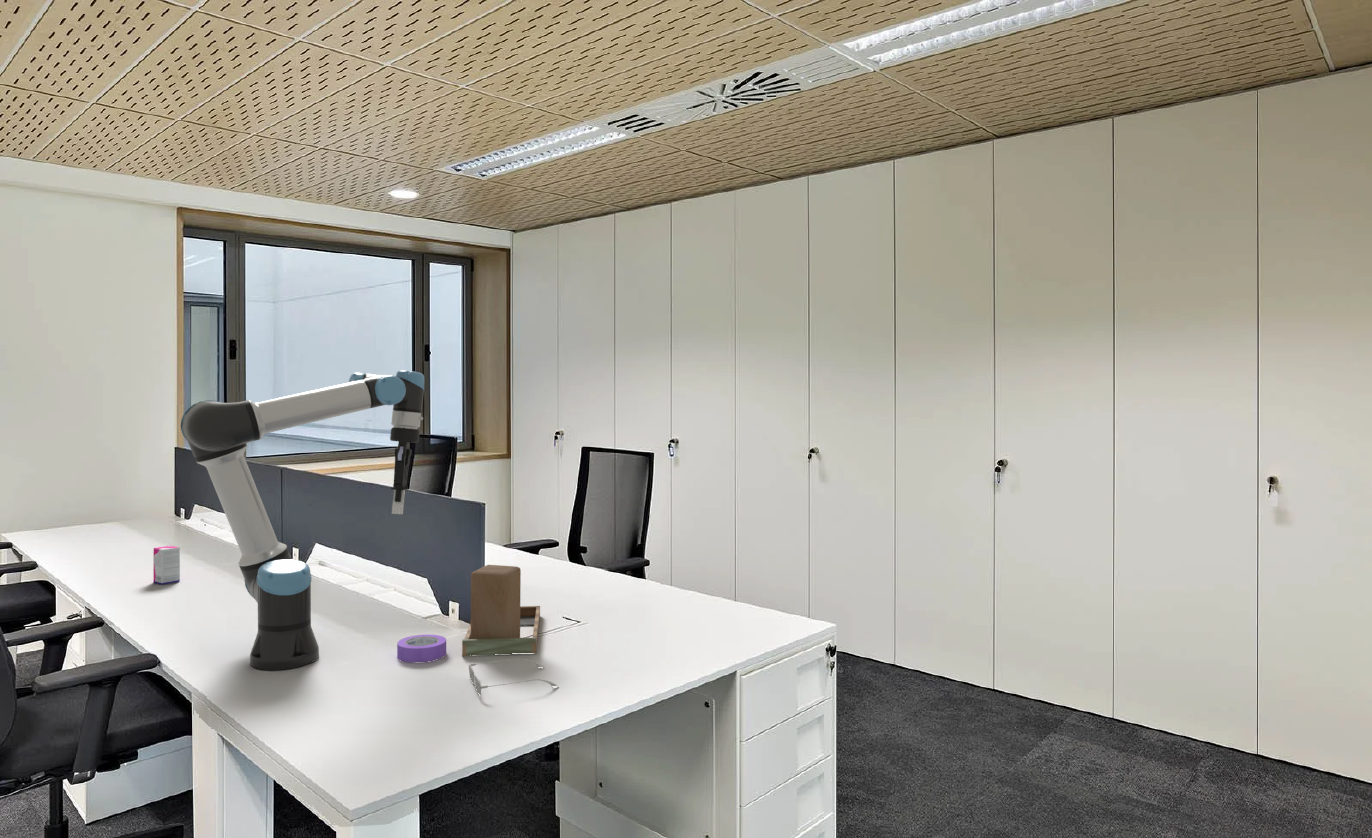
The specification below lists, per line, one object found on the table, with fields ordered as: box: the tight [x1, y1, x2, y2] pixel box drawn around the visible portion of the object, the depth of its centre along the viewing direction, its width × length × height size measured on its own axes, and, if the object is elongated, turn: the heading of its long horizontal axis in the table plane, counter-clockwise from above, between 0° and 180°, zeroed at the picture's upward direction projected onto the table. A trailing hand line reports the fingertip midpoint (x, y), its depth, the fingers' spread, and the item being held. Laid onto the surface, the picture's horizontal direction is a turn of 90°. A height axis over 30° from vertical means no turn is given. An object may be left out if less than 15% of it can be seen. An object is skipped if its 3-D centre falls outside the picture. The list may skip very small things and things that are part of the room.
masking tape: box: [396, 634, 447, 663], centre depth 213 cm, size 12×12×4 cm
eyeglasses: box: [468, 658, 557, 696], centre depth 195 cm, size 15×18×4 cm
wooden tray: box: [461, 605, 541, 657], centre depth 230 cm, size 34×18×4 cm, turn 8°
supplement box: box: [153, 545, 181, 586], centre depth 280 cm, size 6×6×12 cm
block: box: [470, 564, 522, 639], centre depth 221 cm, size 10×10×20 cm
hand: (397, 513), depth 233 cm, fingers closed
